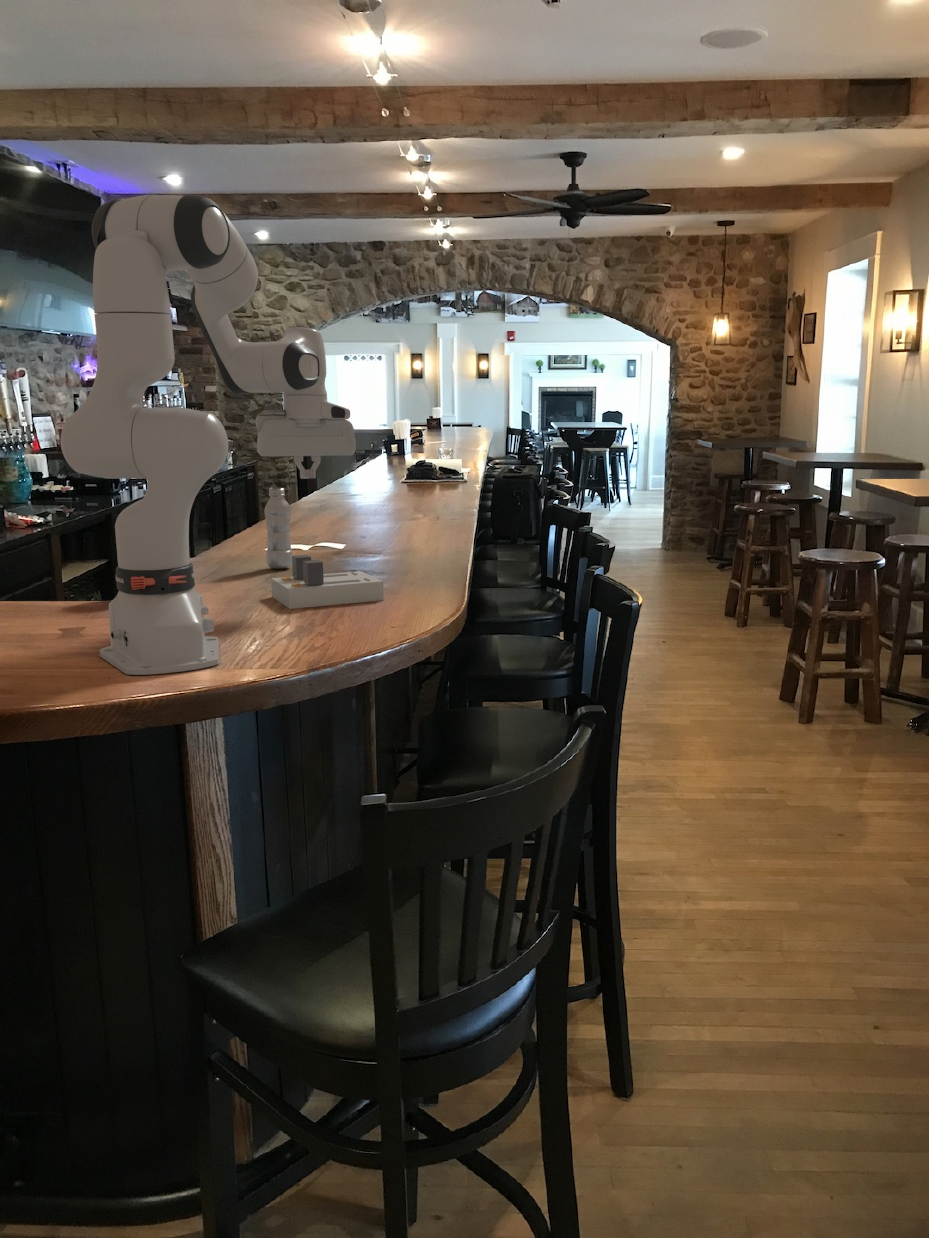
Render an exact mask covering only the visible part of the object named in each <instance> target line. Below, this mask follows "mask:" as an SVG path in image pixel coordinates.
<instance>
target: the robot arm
mask: <svg viewBox="0 0 929 1238" xmlns="http://www.w3.org/2000/svg"><path fill="white" fill-rule="evenodd" d="M91 236H92V241H93V245H94V247H95V252H94V259H93V260H94V261H93V271H92V299H93V300H92V301H93V312H94V321H95V322H94V325H95V333H96V348H97V349H96V352H97V353H96V356H97V360H96V361H97V362H96V364H97V366H96V373H95V377H94V381H93V385H92V387H91V390H90V391H89V393H88V396H86V398H85V400H84V402H83V403H82V404H81V406H80V407H78V408H77V410H76V411H74V412H73V413H71V414H70V415H69V417H67V419H66V421H64V423H63V426H62V428H61V433H60V448H61V452H62V455H63V457H64V459H65V460H66V463H67V464H68V465H69V466H70V468H71V469H72V470H74V472H76V473H78V474H82V475H86V476H87V475H88V476H91V477H96V478H102V479H115V480H117V479H119V480H121V479H123V480H125V479H126V480H127V479H129V480H130V479H132V480H133V479H134V480H135V479H138V480H139V479H142V480H147V481H146V483H147V486H146V492H145V495H144V496H143V497H142V499H138V500H137V501H135V502H133V503H132V504H130V505H129V506H127V507H125V508H124V509H122V510H121V511H120V513H119V514H118V515H117V518H116V520H115V523H114V530H115V544H116V555H117V556H116V557H117V565H118V566H116V567H115V577H114V578H115V581H116V589H117V590H118V592H117V595H116V596H115V597H114V598H113V599H112V600H111V601H110V602H109V603H108V621H109V638H110V645H109V646H104V647H102V648H100V649H99V657H100V658H102V659H104V661H107V662H108V663H109V664H111V665H112V666H114V667H115V668H116V669H118V670H120V671H121V672H123V673H124V674H125V675H131V676H132V675H133V676H134V675H135V676H139V675H159V674H171V673H178V672H179V673H181V672H187V671H194V670H199V669H200V670H201V669H204V668H209V667H213V666H216V665H219V664H220V641H219V637H217V636H212V635H211V636H207V635H206V634H207V633H212V632H215V625H214V618H213V617H204V616H207V615H209V606H207V605H204V602H203V601H204V600H203V595H202V594H201V593H199V592H198V591H197V590H195V588H194V587H195V586H196V582H195V581H196V580H195V570H194V567H193V563H192V562H191V560H190V542H189V541H190V538H189V537H190V536H189V535H190V515H191V511H192V507H193V504H194V501H195V499H196V496H197V495H198V493H199V491H200V490H201V489H202V487H203V486H204V485H205V483H207V481H208V480H209V479H211V477H213V476H214V475H215V474H217V473H218V472H219V470H221V468H222V467H223V466H224V464H225V462H226V460H227V458H228V457H227V456H228V453H229V437H228V435H227V431H226V429H225V427H224V425H223V424H222V422H221V420H220V419H219V418H218V417H217V416H216V415H215V414H213V413H211V412H206V411H202V410H198V409H197V410H196V409H191V408H186V407H144V406H143V405H144V404H143V400H144V395H145V392H146V390H147V389H148V387H150V386H152V385H154V384H155V383H157V382H159V381H161V380H163V379H164V378H165V377H167V376H168V375H169V374H170V372H171V371H172V369H173V367H174V364H175V360H176V357H175V347H174V336H173V335H174V334H173V323H172V322H173V321H172V312H171V302H170V294H169V288H168V283H167V279H166V273H169V272H170V273H171V272H180V271H186V272H187V274H188V276H189V277H190V278H191V280H192V283H193V286H192V289H191V293H190V301H191V302H190V303H191V306H192V309H193V312H194V315H195V318H196V320H197V322H198V324H199V327H200V329H201V331H202V333H203V335H204V337H205V340H206V341H207V344H208V345H209V348H210V350H211V352H212V354H213V357H214V359H215V362H216V365H217V370H218V373H219V376H220V378H221V381H222V382H223V384H224V386H226V387H227V388H228V390H229V391H231V392H232V393H233V394H235V395H237V396H245V395H253V394H262V393H263V394H264V393H265V394H269V393H270V394H273V393H275V394H276V393H283V395H282V396H283V409H276V410H270V409H264V410H262V411H261V412H258V413H257V414H256V416H255V429H256V430H257V440H256V446H257V447H256V451H257V453H258V454H259V456H260V457H293V461H294V463H295V465H296V467H297V468H298V470H299V478H300V479H301V480H303V479H304V480H305V479H310V480H311V479H316V478H317V475H316V474H317V469H318V467H320V464H321V462H322V458H321V457H326V456H327V457H330V456H333V457H334V456H336V457H337V456H339V457H340V456H346V457H347V456H353V455H354V454H355V453H356V451H357V450H356V449H357V445H356V444H357V443H356V435H355V429H354V426H353V424H352V422H351V421H349V419H350V418H351V410H350V409H349V408H346V407H344V406H340V405H339V404H335V403H332V402H329V401H328V391H327V390H326V378H327V359H326V350H325V343H324V339H323V336H322V333H321V332H320V331H318V330H317V329H315V328H314V327H311V326H310V327H308V326H304V325H303V326H302V325H301V326H300V325H294V326H289V327H287V328H286V329H285V330H284V332H283V336H282V338H280V339H278V340H275V341H257V342H252V341H247V340H243V339H241V338H239V337H238V335H237V334H236V331H235V329H234V327H233V325H232V321H231V320H230V317H229V315H228V314H231V313H233V312H235V311H237V310H239V309H241V308H242V307H243V306H245V305H246V303H248V301H249V300H250V299H251V298H252V297H253V295H254V293H255V291H256V289H257V286H258V282H259V271H258V267H257V264H256V261H255V258H254V257H253V255H252V253H251V251H250V250H249V248H248V246H247V244H246V243H245V241H244V239H243V237H242V236H241V234H240V232H239V231H238V229H237V228H236V227H235V225H234V224H233V223H232V221H231V220H230V218H229V217H228V216H227V215H226V213H225V211H223V210H222V208H220V206H219V205H218V204H217V203H216V202H215V201H213V200H212V199H210V198H208V197H206V196H203V195H197V194H190V193H189V194H184V195H173V194H171V195H168V194H167V195H165V194H164V195H163V194H162V195H160V194H144V195H138V196H133V197H128V198H119V197H118V198H115V199H112V200H110V201H107V202H104V203H103V204H100V206H99V207H98V208H97V210H96V211H95V214H94V216H93V220H92V224H91ZM304 457H310V458H311V461H312V462H313V463H312V465H311V468H309V469H305V466H303V463H304ZM302 462H303V463H302ZM205 633H206V634H205Z"/></svg>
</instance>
